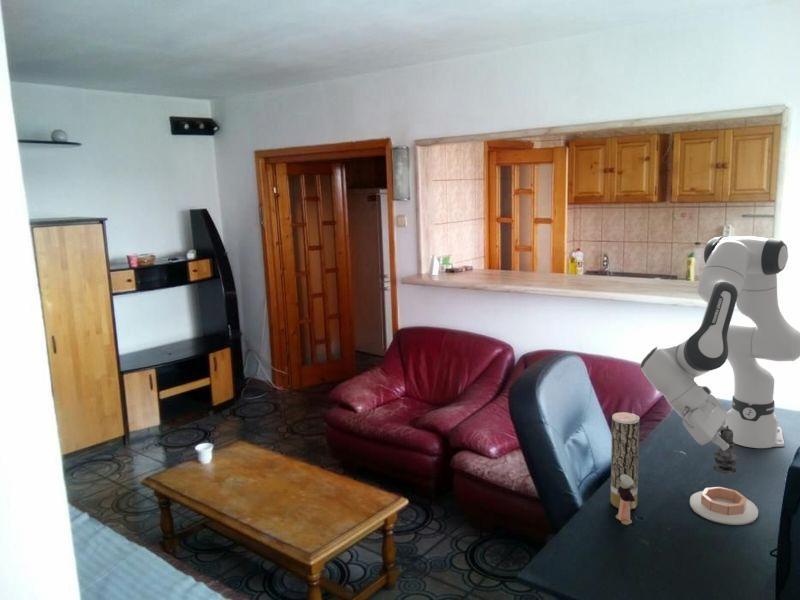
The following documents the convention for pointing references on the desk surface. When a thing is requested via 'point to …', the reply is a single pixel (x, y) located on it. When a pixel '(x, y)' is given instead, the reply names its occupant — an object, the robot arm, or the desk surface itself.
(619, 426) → the wooden cylinder
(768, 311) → the robot arm
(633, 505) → the grandmother figurine
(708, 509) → the saucer
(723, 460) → the grey chess piece
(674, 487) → the desk surface
